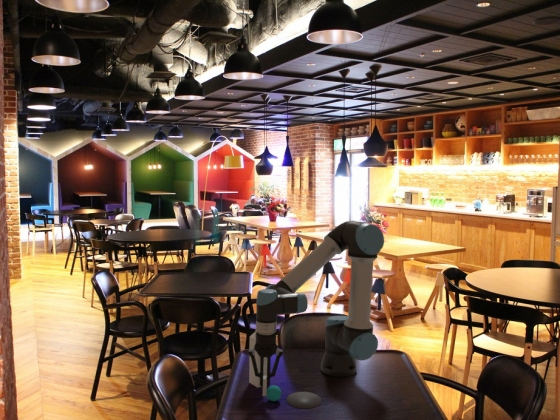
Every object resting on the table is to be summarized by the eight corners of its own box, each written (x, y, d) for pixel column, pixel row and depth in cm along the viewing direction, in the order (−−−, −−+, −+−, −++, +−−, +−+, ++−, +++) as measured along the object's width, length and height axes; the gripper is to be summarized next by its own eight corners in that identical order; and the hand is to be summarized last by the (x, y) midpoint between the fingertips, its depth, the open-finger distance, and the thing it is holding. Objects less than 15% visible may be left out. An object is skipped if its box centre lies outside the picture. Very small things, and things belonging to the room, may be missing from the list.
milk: (257, 388, 193) (257, 333, 191) (249, 382, 198) (249, 329, 196) (270, 384, 197) (270, 330, 195) (261, 378, 201) (261, 326, 200)
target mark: (319, 392, 190) (319, 391, 190) (323, 408, 177) (323, 407, 177) (285, 392, 189) (285, 391, 189) (287, 408, 176) (287, 408, 176)
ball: (272, 399, 185) (283, 390, 185) (273, 407, 180) (284, 397, 180) (263, 389, 185) (274, 379, 185) (263, 396, 179) (275, 386, 179)
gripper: (248, 335, 177) (246, 398, 178) (284, 335, 177) (282, 399, 179) (248, 328, 184) (247, 389, 186) (283, 329, 184) (281, 390, 186)
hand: (264, 394), depth 182 cm, fingers closed
